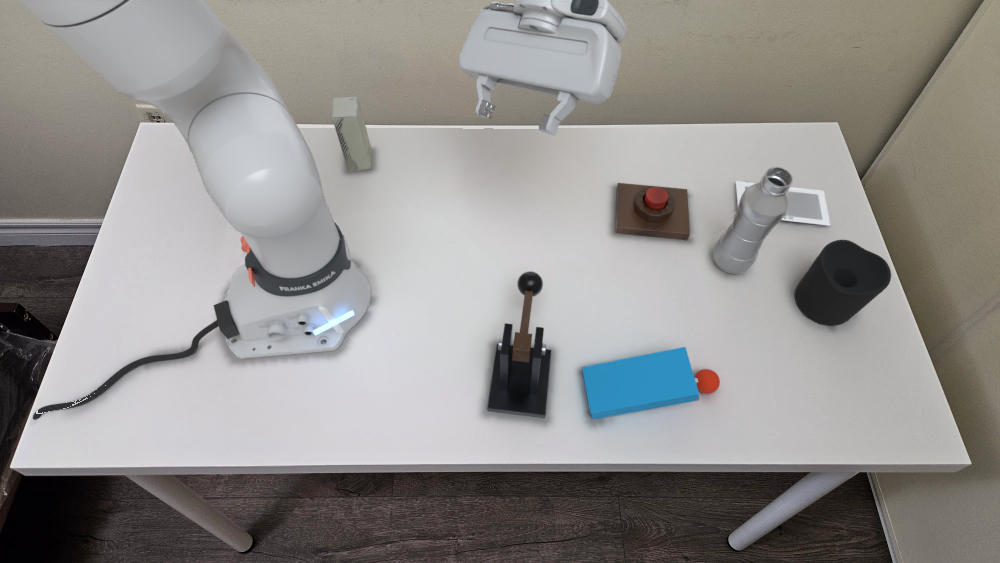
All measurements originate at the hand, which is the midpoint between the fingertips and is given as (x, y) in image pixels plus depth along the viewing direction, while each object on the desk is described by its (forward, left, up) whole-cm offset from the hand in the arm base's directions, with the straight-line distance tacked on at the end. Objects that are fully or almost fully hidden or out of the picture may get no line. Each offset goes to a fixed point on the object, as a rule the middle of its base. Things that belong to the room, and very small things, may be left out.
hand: (513, 124), depth 68 cm
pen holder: (+44, -20, -30) cm, 57 cm away
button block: (+26, +4, -30) cm, 40 cm away
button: (+26, +4, -27) cm, 38 cm away
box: (-20, +31, -30) cm, 47 cm away
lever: (-2, -15, -22) cm, 26 cm away
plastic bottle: (+34, -9, -30) cm, 47 cm away
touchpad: (+48, -1, -30) cm, 57 cm away
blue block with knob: (+13, -26, -30) cm, 42 cm away
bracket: (-5, -19, -30) cm, 36 cm away
